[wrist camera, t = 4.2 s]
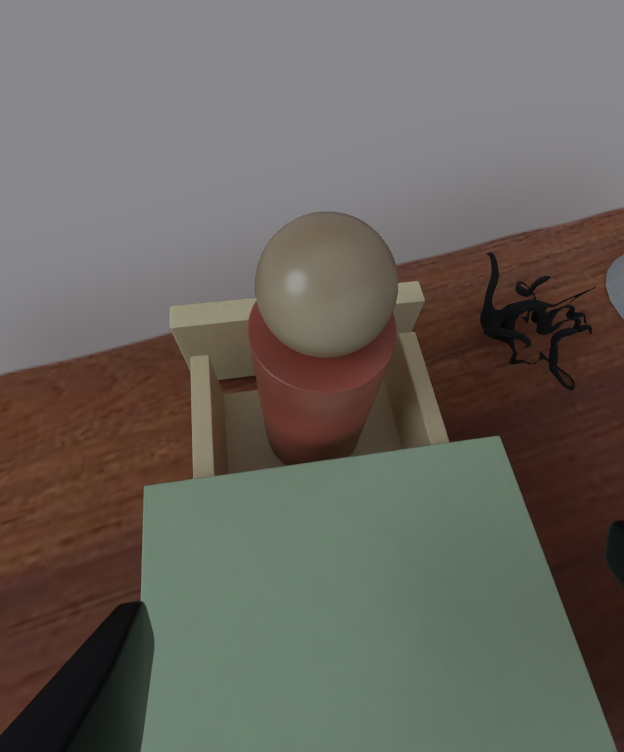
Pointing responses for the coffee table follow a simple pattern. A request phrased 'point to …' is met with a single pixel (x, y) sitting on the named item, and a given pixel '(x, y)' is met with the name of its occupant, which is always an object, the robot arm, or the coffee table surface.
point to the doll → (321, 333)
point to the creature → (503, 320)
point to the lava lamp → (616, 284)
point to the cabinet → (360, 611)
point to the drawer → (243, 409)
